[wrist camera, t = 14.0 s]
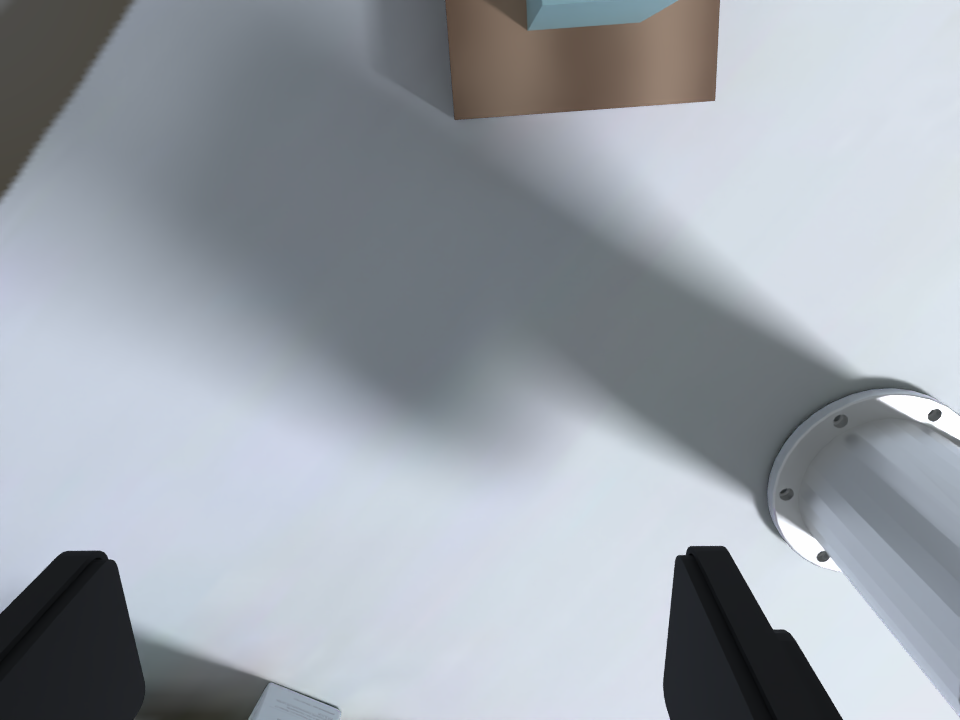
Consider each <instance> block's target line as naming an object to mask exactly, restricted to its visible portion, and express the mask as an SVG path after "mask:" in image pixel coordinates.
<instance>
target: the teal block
mask: <svg viewBox="0 0 960 720" xmlns="http://www.w3.org/2000/svg"><path fill="white" fill-rule="evenodd" d="M676 1H678V0H526V5H527V31H531V30H544V29H558V28H572V27H585V26H599V25H613V24H626V23H640V22H642V21H644V20H645V19H647V18H649V17H651V16H652V15H654V14H656V13H658V12H659V11H661V10H663V9H664V8H666V7H668V6H670V5H671V4H673V3H675V2H676Z"/></svg>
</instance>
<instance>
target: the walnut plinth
mask: <svg viewBox="0 0 960 720" xmlns="http://www.w3.org/2000/svg"><path fill="white" fill-rule="evenodd" d="M445 2H446V15H447V28H448V41H449V54H450V67H451V80H452V93H453V106H454V119H455V120H461V119H474V118H488V117H502V116H515V115H529V114H542V113H556V112H569V111H583V110H597V109H610V108H624V107H637V106H651V105H664V104H678V103H691V102H705V101H715V92H716V71H717V50H718V29H719V8H720V0H678V1H676V2H675V3H673V4H671V5H670V6H668V7H666V8H664V9H663V10H661V11H659V12H658V13H656V14H654V15H652V16H651V17H649V18H647V19H645V20H644V21H642V22H640V23H626V24H613V25H599V26H585V27H572V28H558V29H544V30H531V31H527V5H526V0H445Z"/></svg>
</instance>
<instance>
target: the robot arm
mask: <svg viewBox="0 0 960 720" xmlns="http://www.w3.org/2000/svg"><path fill="white" fill-rule="evenodd" d="M767 495H768V508H769V511H770V514H771V517H772V520H773V523H774V525H775V526H776V528H777V530H778V531H779V533H780V535H781V536H782V537H783V539H784V540H785V541H786V542H787V544H788V545H789V546H790V547H791V549H792V550H794V551H795V552H796V553H797V554H799V555H800V556H801V557H802V558H804V559H805V560H807V561H809V562H811V563H812V564H814V565H817V566H819V567H822V568H826V569H830V570H833V571H838V572H843V574H844V575H845V576H846V577H847V579H848V580H849V581H850V582H851V584H852V585H853V586H854V587H855V589H856V590H857V591H858V592H859V593H860V595H861V596H862V597H863V598H864V600H865V601H866V602H867V603H868V605H869V606H870V607H871V608H872V610H873V611H874V612H875V613H876V615H877V616H878V617H879V618H880V619H881V621H882V622H883V623H884V624H885V626H886V627H887V628H888V629H889V631H890V632H891V633H892V634H893V636H894V637H895V638H896V639H897V640H898V642H899V643H900V644H901V645H902V647H903V648H904V649H905V650H906V652H907V653H908V654H909V655H910V657H911V658H912V659H913V660H914V662H915V663H916V664H917V665H918V666H919V668H920V669H921V670H922V671H923V673H924V674H925V675H926V676H927V678H928V679H929V680H930V681H931V683H932V684H933V685H934V686H935V688H936V689H937V690H938V691H939V692H940V694H941V695H942V696H943V697H944V699H945V700H946V701H947V702H948V704H949V705H950V706H951V707H952V709H953V710H954V711H955V712H956V713H957V715H958V716H959V717H960V415H959V414H957V413H956V412H955V411H953V410H952V409H951V408H949V407H948V406H947V405H945V404H943V403H941V402H939V401H938V400H936V399H934V398H932V397H931V396H928V395H925V394H922V393H919V392H916V391H912V390H905V389H896V388H887V389H872V390H868V391H864V392H859V393H855V394H851V395H849V396H846V397H844V398H842V399H839V400H837V401H834V402H832V403H830V404H829V405H827V406H825V407H824V408H822V409H820V410H819V411H817V412H815V413H814V414H813V415H812V416H810V417H809V418H808V419H807V420H806V421H804V422H803V423H802V424H801V425H800V426H799V427H798V428H797V429H796V430H795V431H794V432H793V434H792V435H791V436H790V437H789V438H788V439H787V441H786V442H785V443H784V445H783V447H782V448H781V450H780V452H779V454H778V455H777V457H776V459H775V462H774V464H773V467H772V470H771V473H770V476H769V483H768V490H767ZM663 690H664V698H665V703H666V707H667V711H668V714H669V717H670V720H843V719H842V717H841V716H840V714H839V712H838V711H837V709H836V707H835V706H834V704H833V702H832V701H831V699H830V697H829V696H828V694H827V692H826V691H825V689H824V687H823V686H822V684H821V682H820V681H819V679H818V677H817V676H816V674H815V672H814V671H813V669H812V667H811V666H810V664H809V662H808V661H807V659H806V657H805V656H804V654H803V652H802V651H801V649H800V647H799V646H798V644H797V642H796V641H795V639H794V638H793V637H792V635H791V634H790V633H789V632H787V631H786V630H773V629H772V627H771V626H770V624H769V622H768V620H767V618H766V617H765V615H764V613H763V611H762V610H761V608H760V606H759V604H758V603H757V601H756V599H755V597H754V596H753V594H752V592H751V590H750V589H749V587H748V585H747V583H746V581H745V580H744V578H743V576H742V574H741V573H740V571H739V569H738V567H737V566H736V564H735V562H734V560H733V559H732V557H731V555H730V553H729V552H728V550H727V549H726V547H724V546H690V547H688V549H687V552H686V555H678V556H677V557H676V560H675V568H674V578H673V588H672V598H671V608H670V618H669V628H668V639H667V649H666V659H665V669H664V679H663ZM144 695H145V682H144V678H143V673H142V669H141V665H140V660H139V656H138V652H137V648H136V643H135V639H134V635H133V631H132V626H131V622H130V618H129V614H128V609H127V605H126V601H125V596H124V592H123V588H122V584H121V579H120V575H119V571H118V567H117V564H116V563H115V561H114V560H108V557H107V555H106V554H105V553H104V552H102V551H66V552H63V553H61V554H60V555H59V556H57V557H56V558H55V559H54V560H53V561H52V562H51V563H50V564H49V565H48V566H47V567H46V569H45V570H44V571H43V572H42V573H41V574H40V575H39V576H38V577H37V578H36V579H35V580H34V581H33V582H32V583H31V584H30V585H29V586H28V587H27V588H26V589H25V590H24V591H23V592H22V593H21V594H20V595H19V596H18V597H17V598H16V599H15V600H14V601H13V602H12V603H11V604H10V605H9V606H8V607H7V608H6V609H5V610H4V611H3V612H2V613H1V614H0V720H134V718H135V716H136V715H137V713H138V711H139V709H140V707H141V705H142V702H143V699H144Z"/></svg>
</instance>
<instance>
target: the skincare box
mask: <svg viewBox="0 0 960 720" xmlns="http://www.w3.org/2000/svg"><path fill="white" fill-rule="evenodd" d="M340 717H341V711H340V710H339V709H336V708H334V707H332V706H329V705H327V704H324V703H322V702H319V701H317V700H314V699H312V698H309V697H307V696H304V695H302V694H299V693H297V692H295V691H292V690H290V689H287V688H285V687H282V686H280V685H277V684H274V683H269V684H268V685H267V687H266V688H265V690H264V692H263V693H262V695H261V697H260V699H259V700H258V702H257V704H256V706H255V708H254V709H253V711H252V713H251V715H250V717H249V719H248V720H340Z"/></svg>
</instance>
